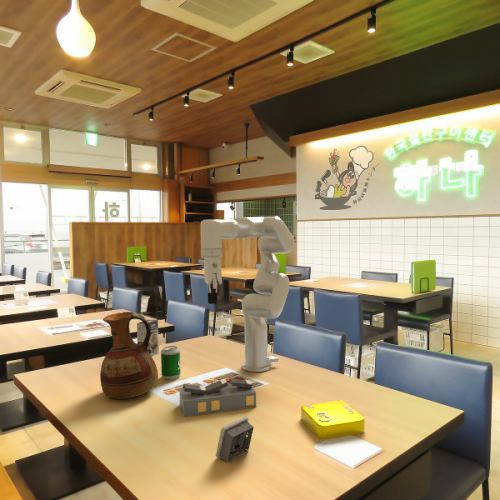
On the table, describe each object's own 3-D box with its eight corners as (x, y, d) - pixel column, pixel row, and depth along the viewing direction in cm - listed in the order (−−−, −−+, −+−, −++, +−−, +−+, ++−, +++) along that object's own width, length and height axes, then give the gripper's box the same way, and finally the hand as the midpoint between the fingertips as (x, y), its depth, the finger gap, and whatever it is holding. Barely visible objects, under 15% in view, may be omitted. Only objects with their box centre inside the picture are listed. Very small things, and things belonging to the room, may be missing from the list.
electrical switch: (240, 445, 116) (242, 413, 115) (254, 453, 113) (256, 420, 112) (215, 459, 110) (216, 425, 109) (228, 468, 106) (230, 433, 105)
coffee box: (149, 358, 197) (148, 323, 196) (137, 357, 199) (136, 323, 198) (159, 352, 206) (158, 319, 205) (147, 351, 208) (146, 319, 207)
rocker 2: (225, 381, 145) (224, 378, 145) (228, 385, 141) (226, 382, 141) (206, 389, 143) (204, 386, 143) (208, 394, 139) (207, 390, 139)
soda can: (176, 381, 166) (175, 351, 166) (158, 380, 168) (157, 350, 167) (183, 374, 174) (182, 345, 173) (166, 373, 175) (165, 345, 175)
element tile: (367, 433, 122) (367, 417, 122) (319, 441, 118) (319, 425, 118) (342, 412, 137) (342, 397, 137) (299, 418, 133) (298, 403, 132)
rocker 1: (202, 390, 143) (203, 386, 143) (205, 394, 139) (206, 390, 139) (182, 387, 141) (183, 383, 141) (184, 391, 137) (185, 387, 137)
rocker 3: (248, 384, 147) (249, 380, 147) (251, 388, 144) (252, 384, 144) (229, 381, 145) (230, 377, 145) (232, 385, 142) (233, 381, 142)
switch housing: (247, 395, 151) (247, 380, 150) (256, 407, 141) (256, 390, 141) (179, 404, 144) (179, 388, 144) (184, 417, 134) (183, 400, 134)
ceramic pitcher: (99, 388, 160) (96, 309, 158) (153, 380, 168) (150, 305, 166) (103, 408, 142) (100, 319, 140) (163, 398, 150) (161, 314, 148)
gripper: (226, 254, 149) (227, 306, 150) (217, 252, 163) (218, 299, 164) (205, 255, 147) (206, 307, 148) (197, 252, 161) (199, 300, 162)
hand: (212, 303), depth 156 cm, fingers closed
